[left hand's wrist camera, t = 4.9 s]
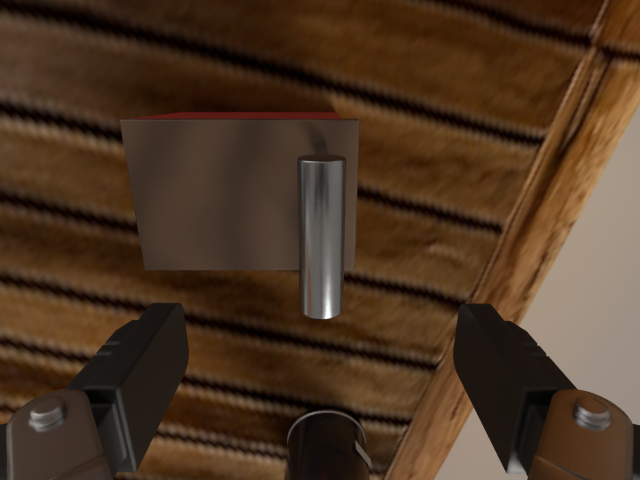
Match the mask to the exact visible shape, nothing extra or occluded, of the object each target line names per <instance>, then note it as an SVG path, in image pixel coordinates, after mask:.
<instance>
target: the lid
mask: <svg viewBox="0 0 640 480" xmlns="http://www.w3.org/2000/svg"><path fill="white" fill-rule="evenodd" d="M120 125H121V131H122V137H123V143H124V149H125V155H126V161H127V167H128V173H129V179H130V185H131V191H132V197H133V203H134V208H135V214H136V220H137V226H138V232H139V238H140V244H141V250H142V256H143V262H144V268H145V270H299V292H300V310H301V312H302V313H303V314H304V315H306V316H308V317H310V318H314V319H329V318H333V317H335V316H337V315H339V314H340V313H341V312H342V310H343V287H344V270H354V269H355V239H356V209H357V179H358V149H359V120H358V119H121V120H120Z"/></svg>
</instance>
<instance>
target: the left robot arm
mask: <svg viewBox="0 0 640 480" xmlns="http://www.w3.org/2000/svg"><path fill="white" fill-rule="evenodd" d="M188 358H189V349H188V341H187V334H186V326H185V319H184V312H183V307H182V305H181V304H180V303H152V304H151V305H150V306H149V307H148V309H147V310H146V311H145V312H144V313H143V315H142V316H141V317H140V318H139V320H132V321H130V322H129V323H127V324H126V325H124V326H122V327H121V328H119V329H118V330H116V331H115V332H114V333H113V334H112V336H111V337H110V338H109V339H108V340H107V341H106V343H105V345H103V346H102V347H101V348H100V349H99V351H98V352H97V355H94V356H93V357H92V359H91V360H90V361H89V362H88V363H87V364H86V366H85V367H84V368H83V369H82V370H81V371H80V372H79V374H78V375H77V376H76V377H75V378H74V379H73V380H72V382H71V383H70V384H69V385H68V386H67V387H66V389H63V390H57V391H53V392H50V393H47V394H44V395H42V396H39V397H37V398H35V399H33V400H31V401H30V402H28V403H27V404H25V405H24V406H22V407H21V408H20V409H19V410H18V411H16V413H15V414H14V415H13V416H12V417H11V419H10V420H9V422H8V423H6V424H2V425H0V480H113V479H114V477H115V475H116V473H117V472H137V470H138V468H139V466H140V464H141V461H142V459H143V457H144V455H145V453H146V451H147V449H148V447H149V445H150V443H151V441H152V439H153V437H154V435H155V433H156V431H157V429H158V427H159V425H160V423H161V421H162V418H163V416H164V414H165V412H166V410H167V408H168V406H169V404H170V402H171V400H172V398H173V396H174V394H175V392H176V390H177V388H178V386H179V384H180V382H181V380H182V378H183V375H184V373H185V371H186V368H187V365H188ZM453 359H454V365H455V369H456V372H457V374H458V376H459V378H460V380H461V382H462V384H463V386H464V388H465V390H466V392H467V394H468V396H469V398H470V400H471V402H472V404H473V406H474V409H475V410H476V412H477V415H478V417H479V419H480V421H481V423H482V425H483V427H484V429H485V431H486V433H487V435H488V437H489V439H490V441H491V443H492V445H493V447H494V449H495V451H496V453H497V455H498V457H499V459H500V461H501V463H502V465H503V467H504V469H505V471H506V473H507V474H527V476H528V479H527V480H640V425H636V424H632V422H631V420H630V419H629V417H628V416H627V415H626V414H625V413H624V411H622V410H621V409H620V408H619V407H618V406H616V405H615V404H613V403H612V402H610V401H609V400H607V399H605V398H603V397H601V396H598V395H596V394H593V393H590V392H587V391H583V390H578V389H577V388H576V387H575V386H574V385H573V384H572V382H571V381H570V380H569V379H568V378H567V377H566V376H565V375H564V373H563V372H562V371H561V370H560V369H559V368H558V367H557V365H556V364H555V363H554V362H553V361H552V360H551V359H550V357H549V356H546V353H545V352H544V351H543V349H542V348H541V347H540V346H537V343H536V342H535V340H534V339H533V338H532V337H531V336H530V335H529V334H528V332H527V331H525V330H524V329H522V328H520V327H519V326H517V325H516V324H514V323H513V322H511V321H504V320H503V319H502V317H501V316H500V315H499V314H498V312H497V311H496V310H495V309H494V308H493V306H492V305H491V304H462V305H461V306H460V308H459V313H458V320H457V327H456V335H455V342H454V349H453ZM365 444H366V439H365V432H364V429H363V427H362V425H361V423H360V422H359V421H358V420H357V419H356V418H355V417H354V416H353V415H351V414H350V413H348V412H345V411H343V410H340V409H336V408H318V409H313V410H310V411H308V412H305V413H304V414H302V415H300V416H299V417H298V418H297V419H296V420H295V421H294V422H293V423H292V425H291V426H290V428H289V431H288V437H287V446H288V447H287V457H286V467H285V477H284V480H370V477H369V470H368V465H369V466H370V467H371V460H370V458H369V457H368V456H367V453H366V446H365ZM371 468H372V467H371Z"/></svg>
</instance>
